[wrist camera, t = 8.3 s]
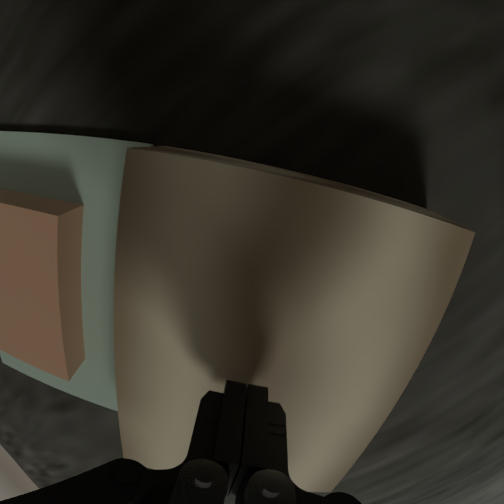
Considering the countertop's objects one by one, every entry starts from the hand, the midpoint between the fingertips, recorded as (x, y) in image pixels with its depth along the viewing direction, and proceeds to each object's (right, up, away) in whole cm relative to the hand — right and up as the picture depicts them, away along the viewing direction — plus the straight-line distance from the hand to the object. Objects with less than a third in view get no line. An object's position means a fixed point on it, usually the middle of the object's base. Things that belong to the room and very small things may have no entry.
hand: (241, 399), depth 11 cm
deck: (+1, +1, +5) cm, 5 cm away
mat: (-11, +4, +4) cm, 12 cm away
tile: (-11, +3, +2) cm, 12 cm away
